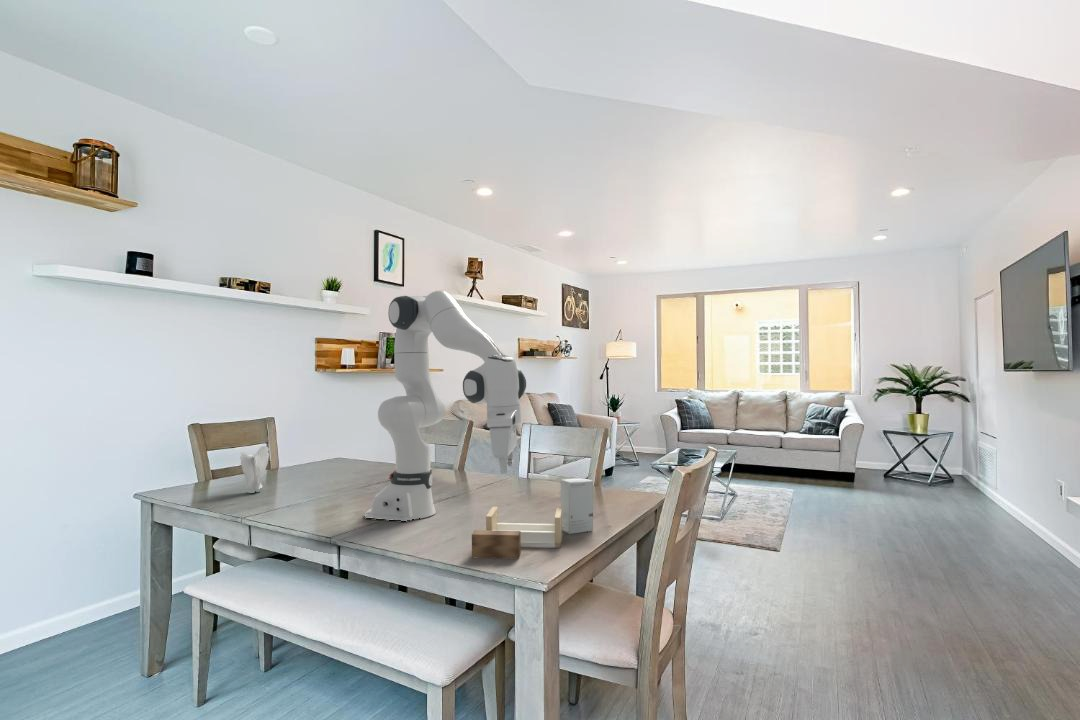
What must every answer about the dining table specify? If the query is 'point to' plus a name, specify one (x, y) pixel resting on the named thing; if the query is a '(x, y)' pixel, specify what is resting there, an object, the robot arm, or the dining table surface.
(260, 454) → the shell sculpture
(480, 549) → the brown wooden block
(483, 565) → the dining table surface
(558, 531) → the track
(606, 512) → the dining table surface
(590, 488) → the skincare box
